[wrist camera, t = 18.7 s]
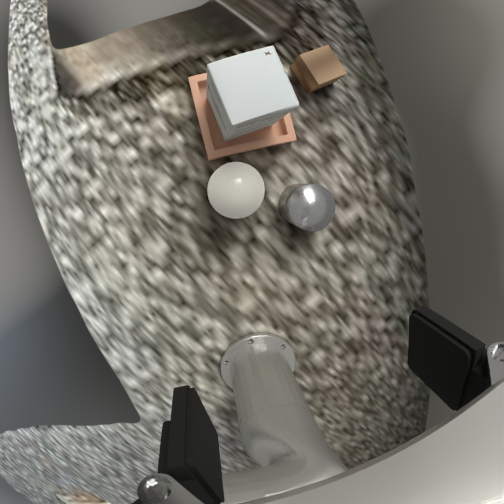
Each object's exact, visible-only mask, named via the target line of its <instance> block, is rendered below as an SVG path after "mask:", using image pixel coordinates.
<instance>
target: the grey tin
mask: <svg viewBox="0 0 504 504" xmlns="http://www.w3.org/2000/svg"><path fill="white" fill-rule="evenodd" d="M279 209H280V212H281V214H282V216H283V217H284V219H285V220H286V221H288V222H290V223H291V224H293V225H295V226H297V227H299V228H301V229H303V230H306V231H310V232H315V231H319V230H322V229H323V228H325V227H326V226H327V225H328V224H329V223H330V222H331V220H332V218H333V216H334V213H335V202H334V199H333V197H332V195H331V193H330V192H329V191H328V190H327V189H326V188H324V187H323V186H320V185H317V184H293V185H291V186H289V187H287V188H286V189H285V190H284V191H283V193H282V194H281V196H280V200H279Z"/></svg>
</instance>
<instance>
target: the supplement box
mask: <svg viewBox="0 0 504 504" xmlns="http://www.w3.org/2000/svg"><path fill="white" fill-rule="evenodd" d="M206 97H207V100H208V102H209V104H210V106H211V108H212V111H213V113H214V116H215V118H216V121H217V123H218V126H219V128H220V131H221V133H222V136H223V139H224V142H227V141H229V140H232V139H235V138H237V137H240V136H243V135H246V134H248V133H251V132H254V131H257V130H260V129H263V128H266V127H269V126H272V125H273V124H275V123H276V122H278V121H279V120H280V119H282V118H283V117H284V116H286V115H287V114H288V113H289V112H291V111H292V110H294V109H295V108H297V107H299V102H298V99H297V97H296V95H295V92H294V90H293V88H292V85H291V83H290V81H289V79H288V76H287V74H286V71H285V70H284V68H283V65H282V63H281V61H280V59H279V57H278V55H277V53H276V50H275V48H274V46H269V47H265V48H261V49H258V50H254V51H250V52H246V53H242V54H239V55H235V56H232V57H228V58H225V59H222V60H219V61H215V62H212V63H210V64H207V90H206Z"/></svg>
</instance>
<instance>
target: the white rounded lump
mask: <svg viewBox="0 0 504 504" xmlns="http://www.w3.org/2000/svg"><path fill="white" fill-rule="evenodd" d="M207 192H208V198H209V201H210V203H211V205H212V207H213V208H214V209H215V210H216V211H217V212H218V213H219V214H221V215H223V216H225V217H228V218H232V219H239V218H244V217H247V216H249V215H251V214H252V213H254V212H255V211H256V210H257V209H258V208H259V206H260V205H261V203H262V201H263V198H264V193H265V187H264V182H263V179H262V177H261V175H260V174H259V172H258V171H257V170H256V169H255V168H253V167H252V166H250V165H248V164H246V163H242V162H230V163H227V164H224V165H222V166H221V167H219V168H218V169H217V170H216V171H215V172H214V173H213V174H212V176H211V178H210V180H209V182H208V188H207Z"/></svg>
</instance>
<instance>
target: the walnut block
mask: <svg viewBox="0 0 504 504" xmlns="http://www.w3.org/2000/svg"><path fill="white" fill-rule="evenodd" d="M290 68H291V69H292V71H293V73H294V74H295V76H296V77H297V79H298V80H299V82H300V83H301V85H302V87H303V88H304V90H305V91H306V93H307V94H309V93H311V92H313V91H316V90H318V89H320V88H323V87H325V86H327V85H330V84H332V83H334V82H335V81H337V80H338V79H340V78H341V77H343V76H344V75H345V74H347V73H346V72H345V70H344V68H343V67H342V65H341V64H340V62H339V60H338V59H337V57H336V56H335V54H334V53H333V51H332V50H331V48H330V47H329V45H327V46H324V47H321V48H318V49H315V50H312V51H309V52H306V53H304V54H301V55H299V56H298V58H297V59H296V60H295V61H294V63H293V64H292V65H291V67H290Z"/></svg>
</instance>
